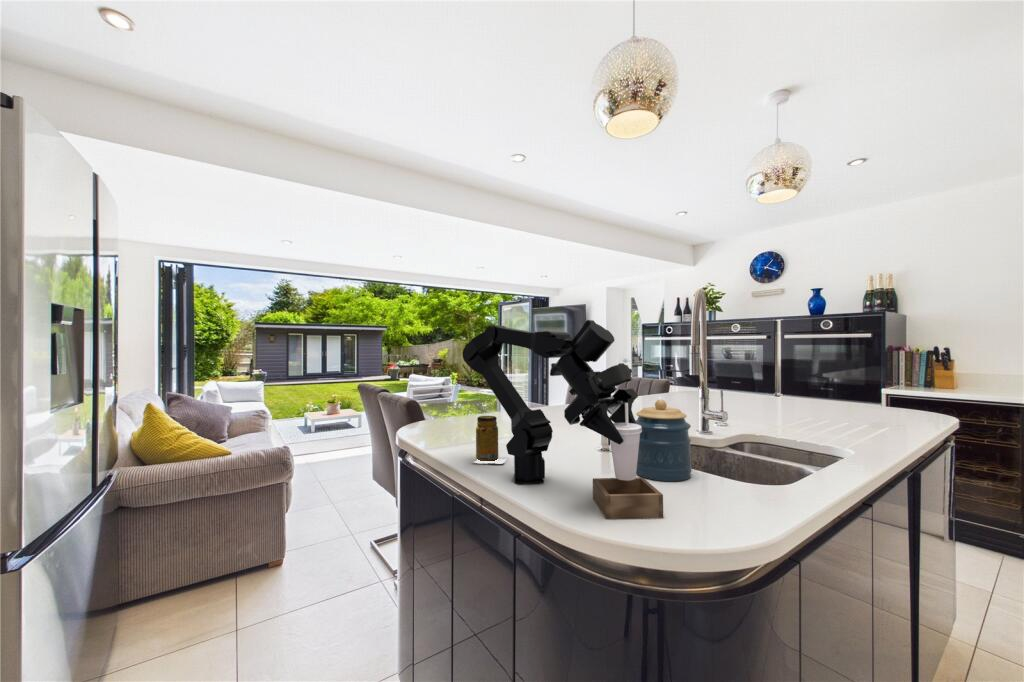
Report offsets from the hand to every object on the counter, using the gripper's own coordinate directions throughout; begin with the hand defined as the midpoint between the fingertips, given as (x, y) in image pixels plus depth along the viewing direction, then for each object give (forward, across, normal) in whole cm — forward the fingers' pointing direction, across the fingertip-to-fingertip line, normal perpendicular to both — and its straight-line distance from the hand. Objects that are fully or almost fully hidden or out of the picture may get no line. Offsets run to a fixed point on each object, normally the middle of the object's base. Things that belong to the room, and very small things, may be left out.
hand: (630, 440), depth 76 cm
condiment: (-22, +5, +41) cm, 47 cm away
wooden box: (+8, 0, +10) cm, 13 cm away
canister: (+5, +25, +13) cm, 29 cm away
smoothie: (+4, 0, +6) cm, 8 cm away
